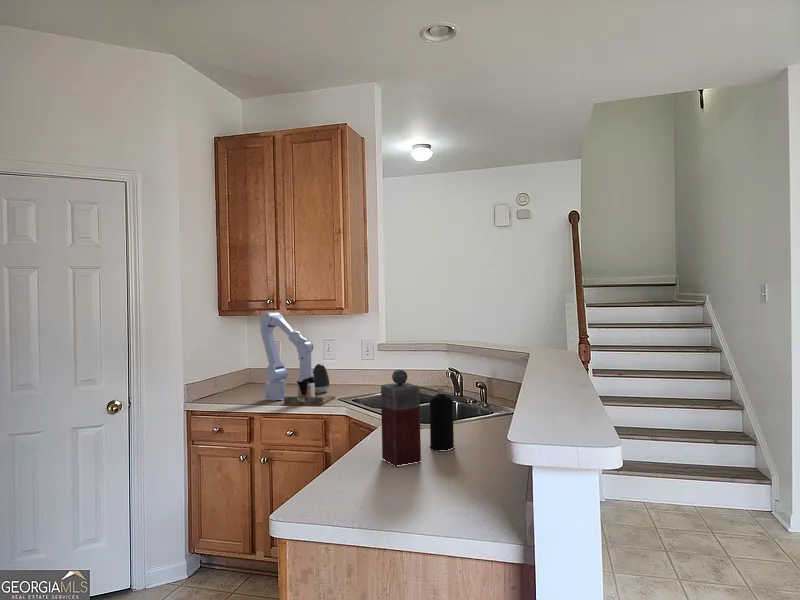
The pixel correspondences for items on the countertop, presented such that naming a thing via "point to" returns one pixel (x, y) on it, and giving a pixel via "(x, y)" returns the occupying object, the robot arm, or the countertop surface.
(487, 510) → the countertop surface
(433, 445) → the aerosol can
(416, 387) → the pepper mill
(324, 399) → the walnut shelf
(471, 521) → the countertop surface
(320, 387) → the black rounded upright piece
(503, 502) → the countertop surface
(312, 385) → the cream box
